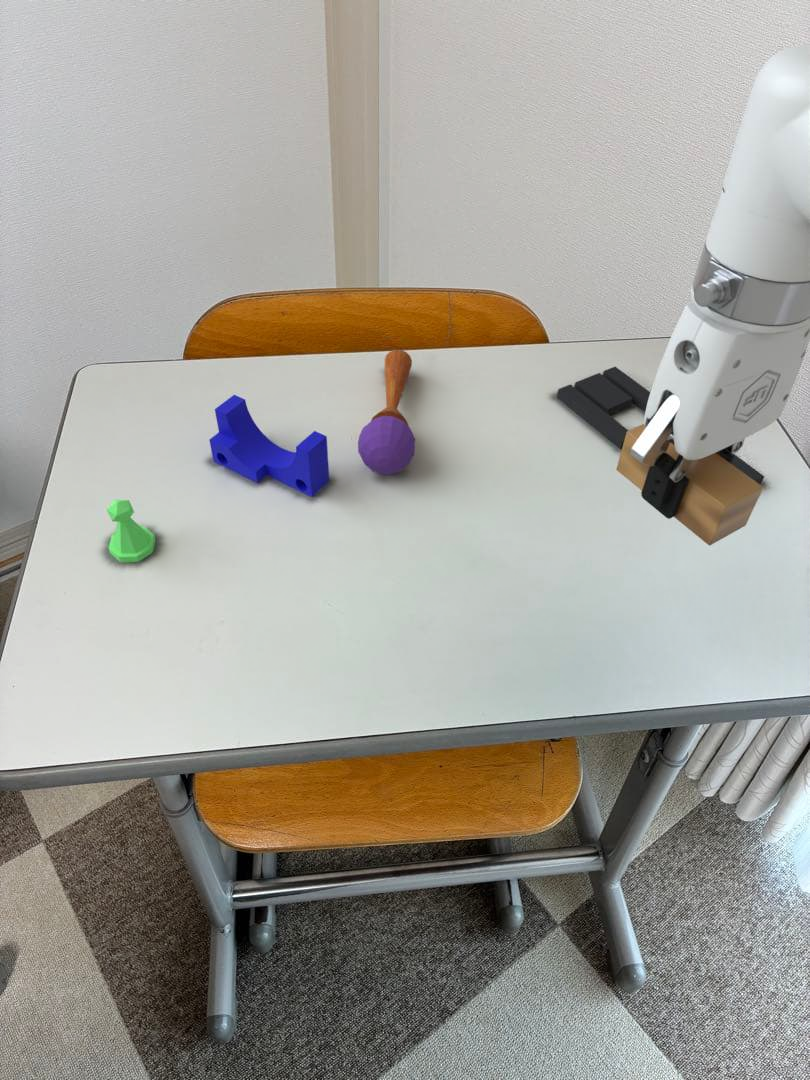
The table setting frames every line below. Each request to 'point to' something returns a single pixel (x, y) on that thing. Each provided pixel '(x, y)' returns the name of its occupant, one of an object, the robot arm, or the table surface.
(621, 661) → the table surface
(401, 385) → the kendama
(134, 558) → the game piece
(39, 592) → the table surface
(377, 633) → the table surface
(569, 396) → the pad
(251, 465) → the blue cradle bracket
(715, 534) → the block
